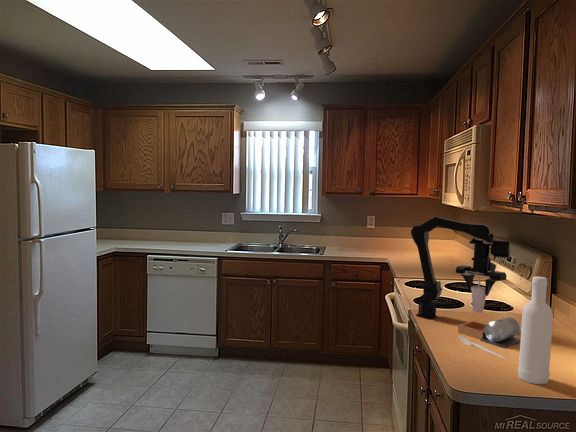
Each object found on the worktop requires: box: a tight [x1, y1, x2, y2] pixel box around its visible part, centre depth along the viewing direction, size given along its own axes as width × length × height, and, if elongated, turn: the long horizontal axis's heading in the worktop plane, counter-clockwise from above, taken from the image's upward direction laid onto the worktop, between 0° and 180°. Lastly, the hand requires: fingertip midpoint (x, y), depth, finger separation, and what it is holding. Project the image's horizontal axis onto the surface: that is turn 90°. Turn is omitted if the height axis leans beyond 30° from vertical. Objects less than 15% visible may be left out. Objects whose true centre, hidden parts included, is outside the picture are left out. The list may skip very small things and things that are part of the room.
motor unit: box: [457, 316, 521, 349], centre depth 169 cm, size 19×13×8 cm
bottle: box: [517, 275, 554, 385], centre depth 132 cm, size 8×8×30 cm
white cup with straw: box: [471, 276, 487, 314], centre depth 183 cm, size 6×6×14 cm
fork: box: [458, 334, 508, 360], centre depth 157 cm, size 3×20×2 cm, turn 25°
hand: (479, 293), depth 183 cm, fingers closed on white cup with straw, 6 cm apart
